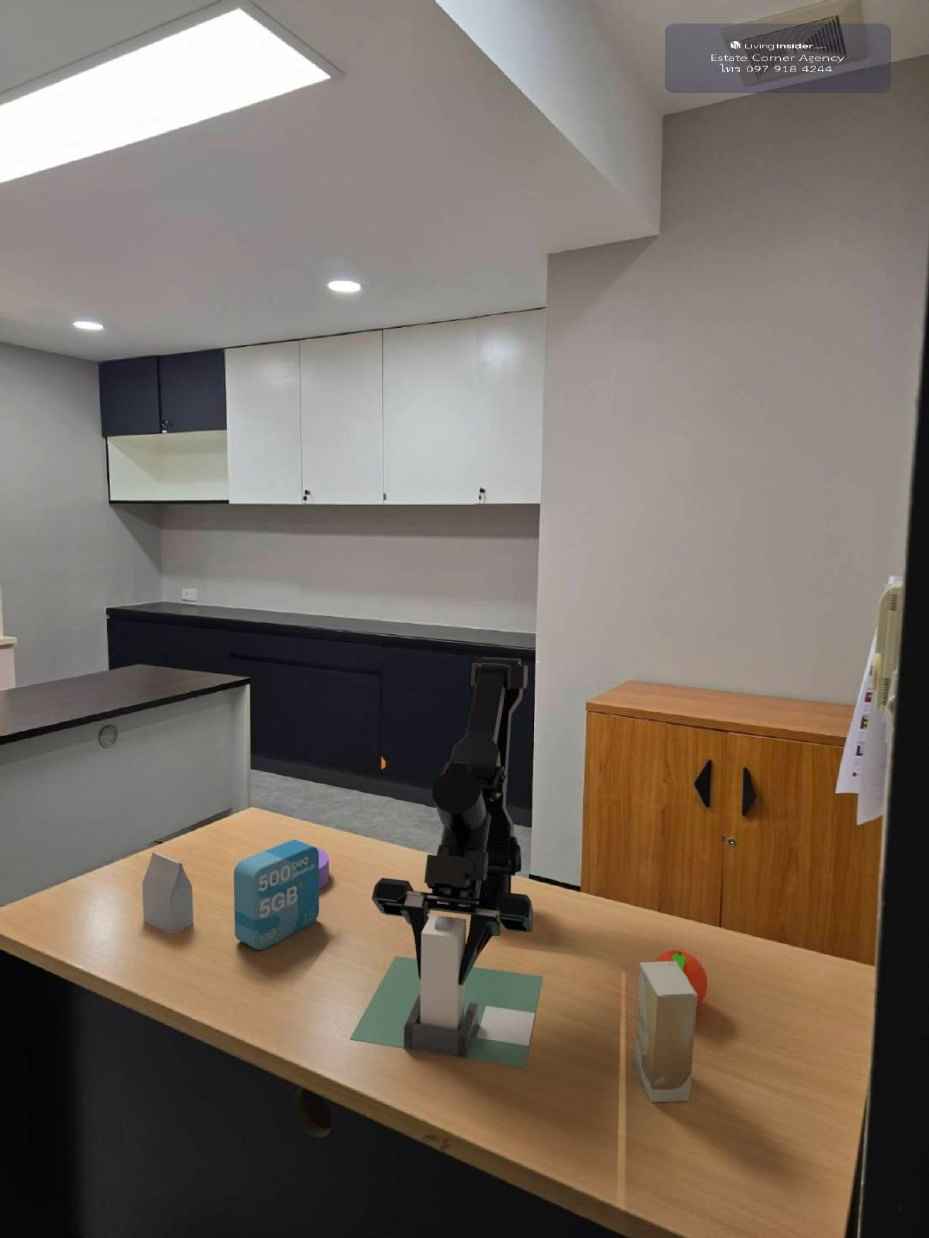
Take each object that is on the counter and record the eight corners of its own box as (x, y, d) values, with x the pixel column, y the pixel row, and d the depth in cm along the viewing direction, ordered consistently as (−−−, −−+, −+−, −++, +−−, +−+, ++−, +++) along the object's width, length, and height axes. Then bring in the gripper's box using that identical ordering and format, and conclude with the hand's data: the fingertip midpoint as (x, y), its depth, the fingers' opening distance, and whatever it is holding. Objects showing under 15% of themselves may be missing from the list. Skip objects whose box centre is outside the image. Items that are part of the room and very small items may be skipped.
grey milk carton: (171, 934, 110) (169, 868, 109) (143, 920, 114) (141, 856, 113) (193, 924, 114) (191, 859, 112) (165, 910, 117) (163, 848, 116)
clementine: (706, 1034, 91) (709, 978, 90) (645, 1022, 93) (648, 967, 92) (705, 995, 98) (708, 943, 97) (650, 985, 100) (652, 933, 99)
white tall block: (429, 1018, 91) (430, 909, 89) (464, 1023, 90) (466, 913, 88) (420, 1041, 87) (421, 927, 85) (456, 1046, 86) (458, 932, 84)
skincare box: (632, 1062, 86) (637, 959, 84) (670, 1060, 86) (676, 958, 84) (651, 1105, 79) (657, 994, 78) (692, 1103, 80) (698, 993, 78)
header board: (395, 962, 104) (395, 938, 104) (542, 983, 100) (543, 958, 100) (349, 1046, 87) (349, 1018, 87) (524, 1076, 83) (525, 1045, 83)
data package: (254, 954, 106) (253, 871, 104) (234, 943, 108) (232, 862, 107) (319, 920, 115) (319, 843, 114) (299, 910, 118) (299, 836, 117)
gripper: (377, 813, 91) (343, 950, 82) (533, 829, 88) (516, 974, 78) (396, 849, 100) (367, 977, 91) (539, 865, 96) (525, 1000, 87)
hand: (440, 981), depth 86 cm, fingers closed on white tall block, 4 cm apart
